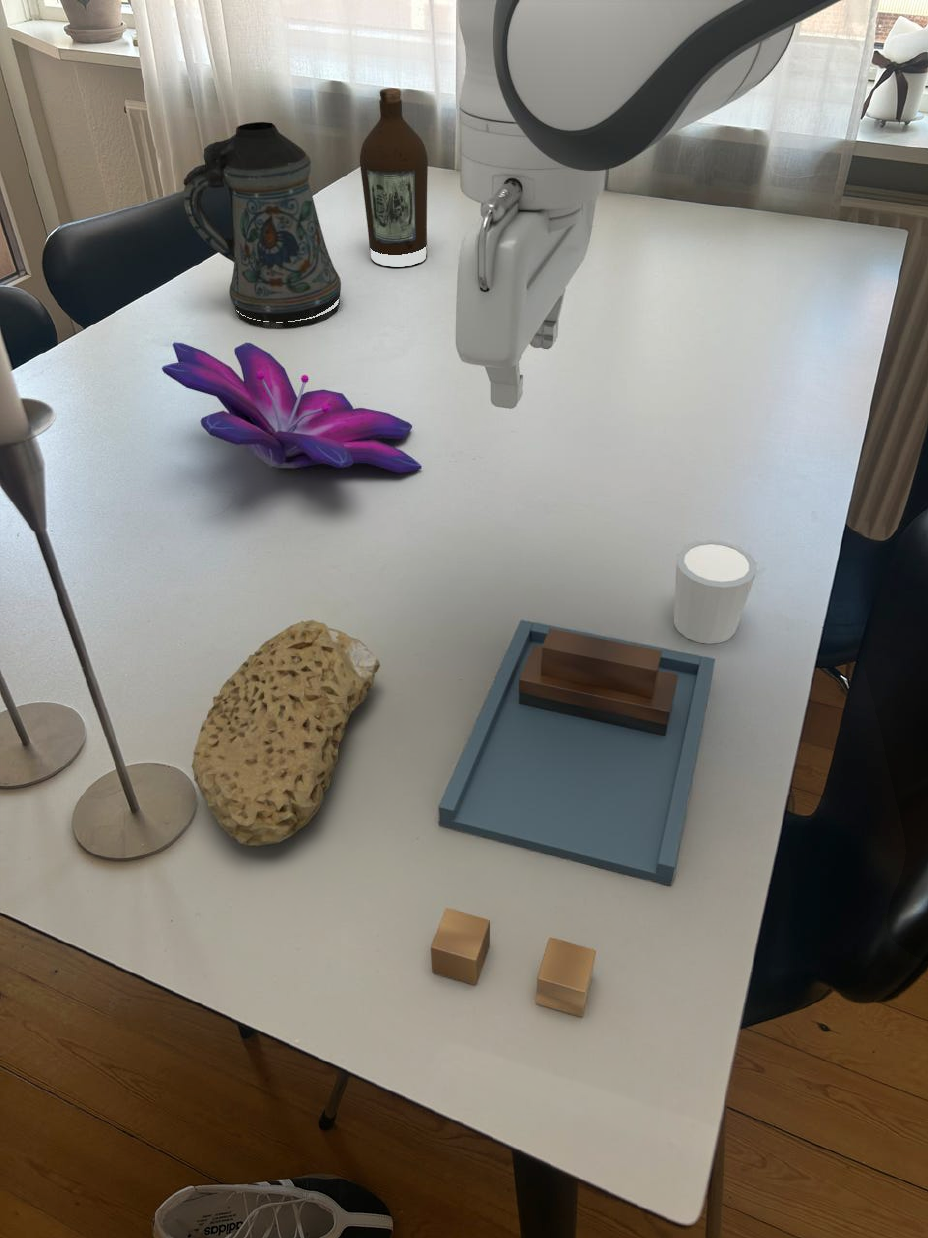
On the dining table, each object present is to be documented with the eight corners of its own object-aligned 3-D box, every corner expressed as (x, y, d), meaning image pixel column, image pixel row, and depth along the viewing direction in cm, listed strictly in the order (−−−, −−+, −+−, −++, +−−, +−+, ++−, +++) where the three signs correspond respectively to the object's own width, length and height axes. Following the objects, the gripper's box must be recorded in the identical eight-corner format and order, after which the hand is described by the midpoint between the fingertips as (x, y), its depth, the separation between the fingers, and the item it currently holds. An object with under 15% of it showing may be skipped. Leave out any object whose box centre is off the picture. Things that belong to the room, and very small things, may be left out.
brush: (673, 700, 79) (683, 646, 75) (664, 738, 76) (674, 683, 72) (531, 670, 82) (534, 616, 78) (517, 705, 79) (519, 651, 75)
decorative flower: (333, 417, 130) (358, 348, 125) (441, 547, 111) (476, 472, 106) (101, 377, 110) (121, 294, 106) (184, 526, 91) (213, 433, 87)
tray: (711, 677, 83) (715, 658, 81) (671, 886, 67) (675, 867, 65) (520, 637, 87) (520, 619, 85) (438, 825, 71) (438, 806, 69)
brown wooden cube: (490, 919, 61) (476, 961, 59) (490, 945, 63) (476, 986, 61) (445, 907, 62) (430, 947, 60) (446, 933, 64) (431, 972, 62)
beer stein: (365, 307, 145) (350, 125, 129) (254, 346, 135) (224, 153, 119) (301, 278, 154) (280, 104, 138) (194, 312, 144) (158, 129, 128)
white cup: (712, 659, 84) (725, 596, 80) (651, 622, 88) (660, 560, 84) (758, 624, 88) (773, 562, 83) (697, 590, 92) (708, 529, 87)
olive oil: (371, 246, 165) (360, 82, 149) (433, 247, 164) (428, 82, 148) (362, 269, 157) (349, 98, 141) (427, 270, 156) (421, 98, 140)
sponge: (282, 667, 86) (122, 792, 70) (296, 595, 82) (128, 710, 66) (409, 735, 83) (271, 882, 67) (430, 664, 78) (288, 803, 62)
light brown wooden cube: (592, 975, 62) (596, 949, 60) (582, 1018, 59) (585, 993, 57) (547, 962, 62) (549, 936, 60) (535, 1003, 60) (537, 978, 58)
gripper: (539, 217, 50) (530, 452, 59) (617, 122, 65) (600, 321, 74) (424, 206, 51) (432, 436, 60) (526, 115, 66) (521, 311, 75)
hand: (525, 372), depth 67 cm, fingers open, 8 cm apart
